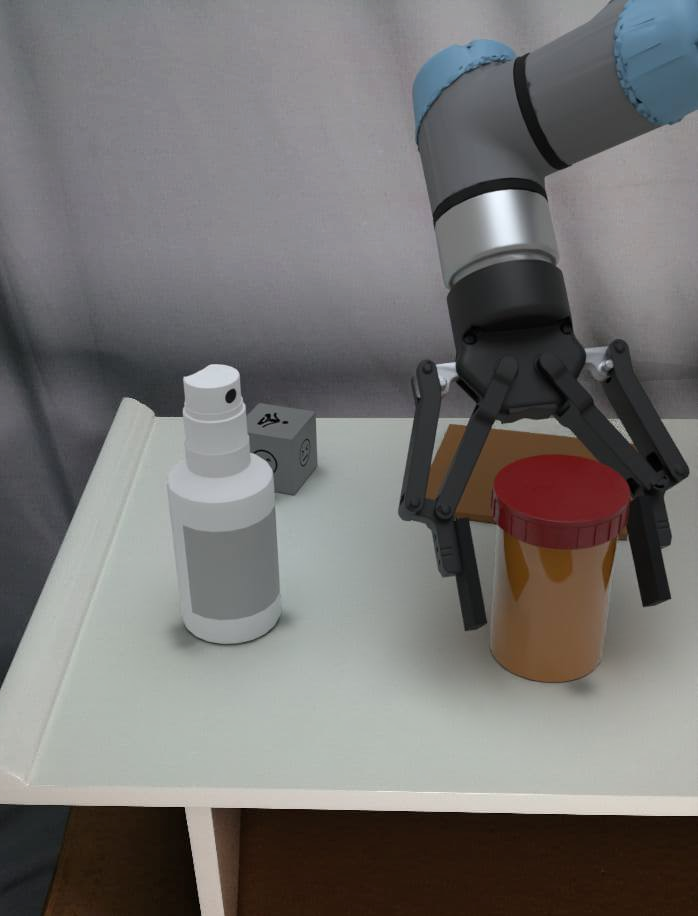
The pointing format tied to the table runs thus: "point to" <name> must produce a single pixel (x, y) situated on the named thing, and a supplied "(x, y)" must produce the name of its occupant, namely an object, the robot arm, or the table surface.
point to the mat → (497, 465)
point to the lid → (560, 501)
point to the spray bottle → (223, 516)
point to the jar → (550, 608)
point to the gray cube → (284, 443)
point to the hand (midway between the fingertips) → (567, 615)
